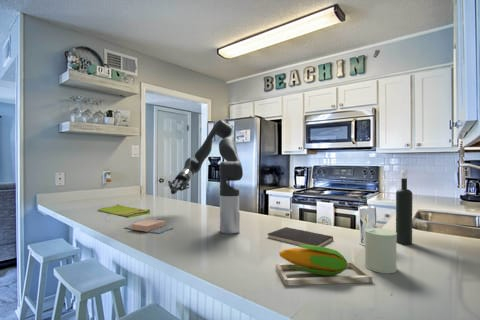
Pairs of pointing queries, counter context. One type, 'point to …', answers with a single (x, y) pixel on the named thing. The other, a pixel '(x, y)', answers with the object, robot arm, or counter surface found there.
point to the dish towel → (124, 211)
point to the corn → (315, 259)
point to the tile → (148, 225)
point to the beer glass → (366, 220)
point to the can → (380, 250)
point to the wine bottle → (404, 212)
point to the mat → (158, 230)
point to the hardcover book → (300, 237)
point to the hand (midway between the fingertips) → (172, 192)
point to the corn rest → (323, 280)
